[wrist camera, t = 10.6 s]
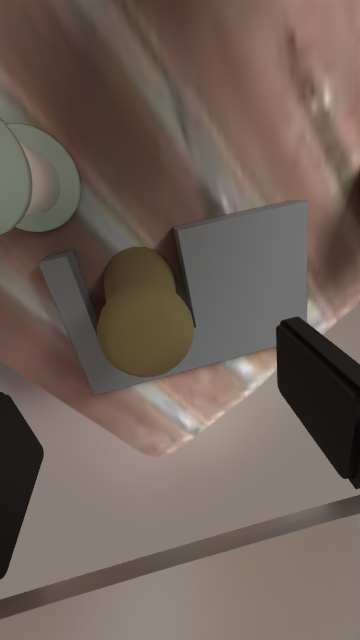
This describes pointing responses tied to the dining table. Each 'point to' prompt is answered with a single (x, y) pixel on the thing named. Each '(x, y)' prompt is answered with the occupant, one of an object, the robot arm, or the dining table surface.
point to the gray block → (206, 289)
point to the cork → (143, 315)
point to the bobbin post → (35, 180)
